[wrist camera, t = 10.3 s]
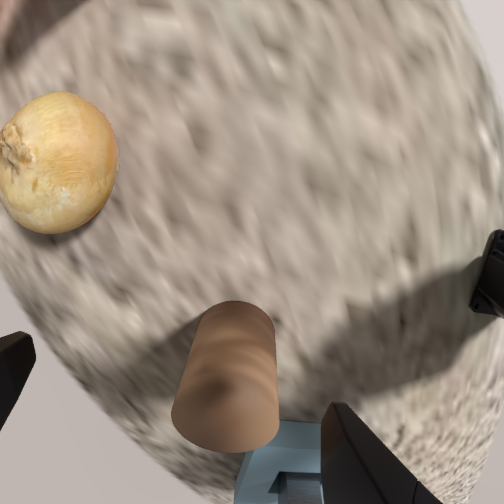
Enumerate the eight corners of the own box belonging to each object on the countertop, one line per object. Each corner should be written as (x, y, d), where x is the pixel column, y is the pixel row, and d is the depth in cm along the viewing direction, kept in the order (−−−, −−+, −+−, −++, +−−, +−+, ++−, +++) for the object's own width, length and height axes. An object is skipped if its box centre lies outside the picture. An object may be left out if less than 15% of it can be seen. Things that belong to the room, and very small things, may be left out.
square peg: (315, 452, 26) (324, 522, 18) (305, 467, 27) (311, 533, 19) (285, 450, 26) (288, 522, 18) (277, 465, 27) (278, 533, 19)
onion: (158, 141, 17) (103, 145, 11) (93, 242, 20) (32, 287, 13) (71, 77, 16) (-1, 61, 9) (19, 175, 18) (-51, 195, 11)
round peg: (282, 308, 21) (291, 395, 13) (266, 369, 22) (266, 458, 15) (202, 293, 20) (172, 375, 13) (194, 356, 22) (170, 442, 15)
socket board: (367, 425, 24) (374, 449, 22) (323, 487, 28) (326, 508, 25) (257, 417, 24) (256, 444, 21) (235, 482, 28) (233, 504, 25)
